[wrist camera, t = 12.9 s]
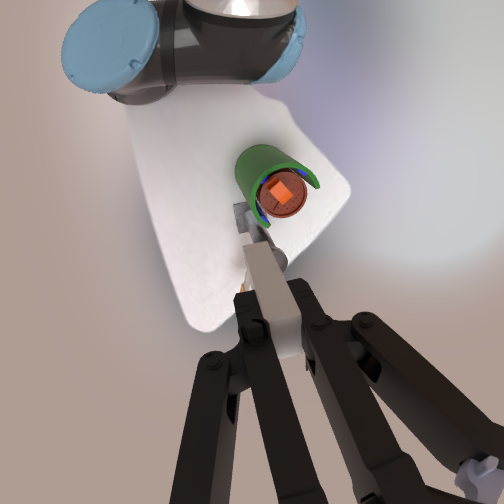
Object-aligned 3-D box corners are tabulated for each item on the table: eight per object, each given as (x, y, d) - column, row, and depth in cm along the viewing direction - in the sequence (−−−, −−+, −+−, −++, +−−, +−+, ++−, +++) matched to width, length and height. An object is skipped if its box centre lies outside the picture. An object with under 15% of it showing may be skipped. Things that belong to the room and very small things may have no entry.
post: (233, 204, 54) (248, 251, 38) (263, 198, 54) (291, 241, 39) (238, 232, 57) (255, 285, 41) (267, 225, 57) (294, 276, 42)
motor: (261, 202, 55) (291, 253, 38) (223, 177, 51) (238, 219, 34) (293, 161, 51) (341, 195, 34) (257, 133, 48) (290, 152, 31)
